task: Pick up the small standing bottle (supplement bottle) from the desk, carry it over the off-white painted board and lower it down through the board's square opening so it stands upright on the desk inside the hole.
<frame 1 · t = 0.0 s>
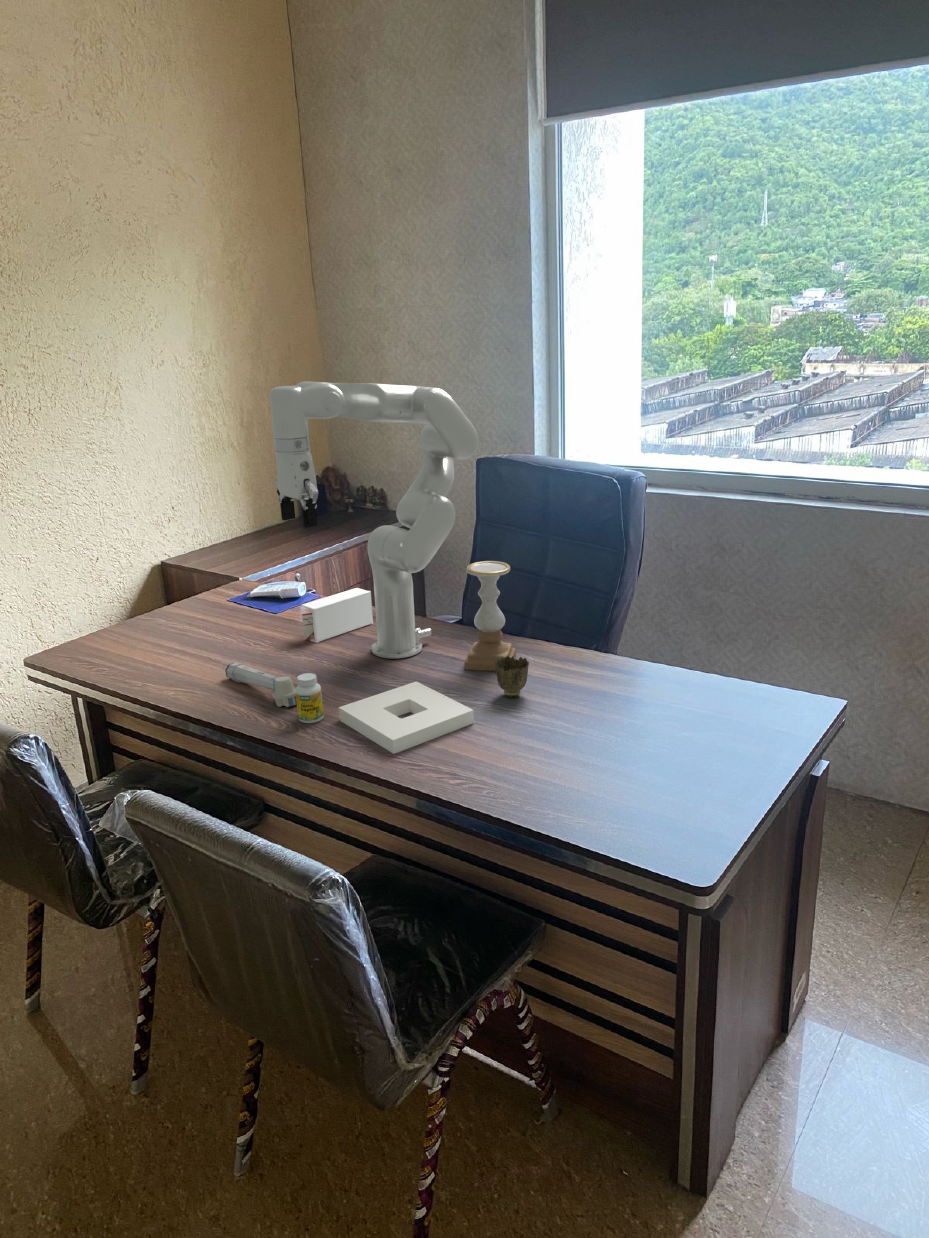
hand: (299, 522, 202), 37 cm above the table, tool pointing down, fingers open, 9 cm apart
hole board: (406, 721, 190), on the table
cup: (512, 696, 201), on the table
white box: (337, 632, 243), on the table
candle holder: (490, 662, 219), on the table
supplement bottle: (311, 719, 193), on the table
toothbrush head: (262, 693, 207), on the table
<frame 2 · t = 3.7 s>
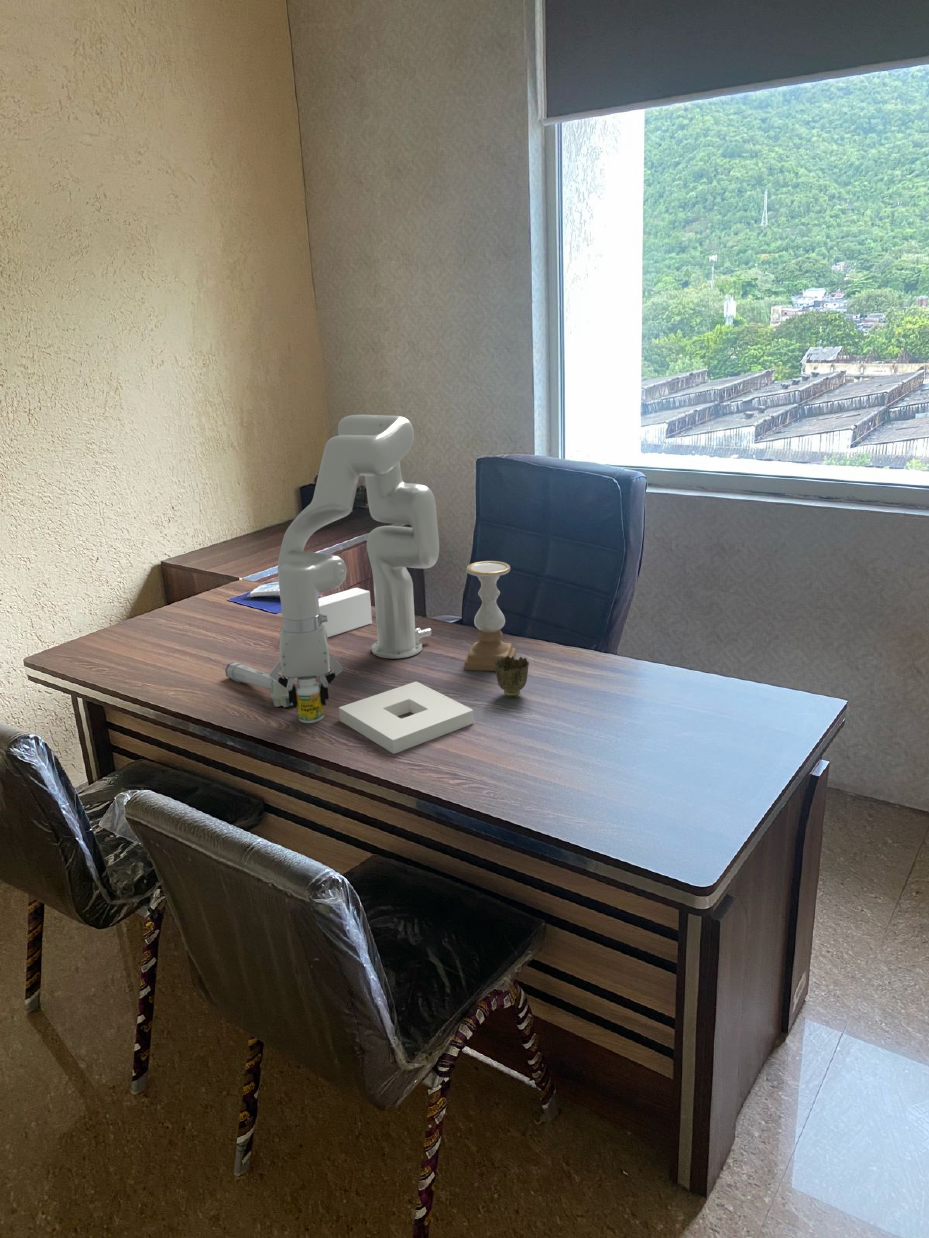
hand: (309, 703, 192), 4 cm above the table, tool pointing down, fingers closed on supplement bottle, 5 cm apart
supplement bottle: (311, 719, 193), on the table, touching gripper
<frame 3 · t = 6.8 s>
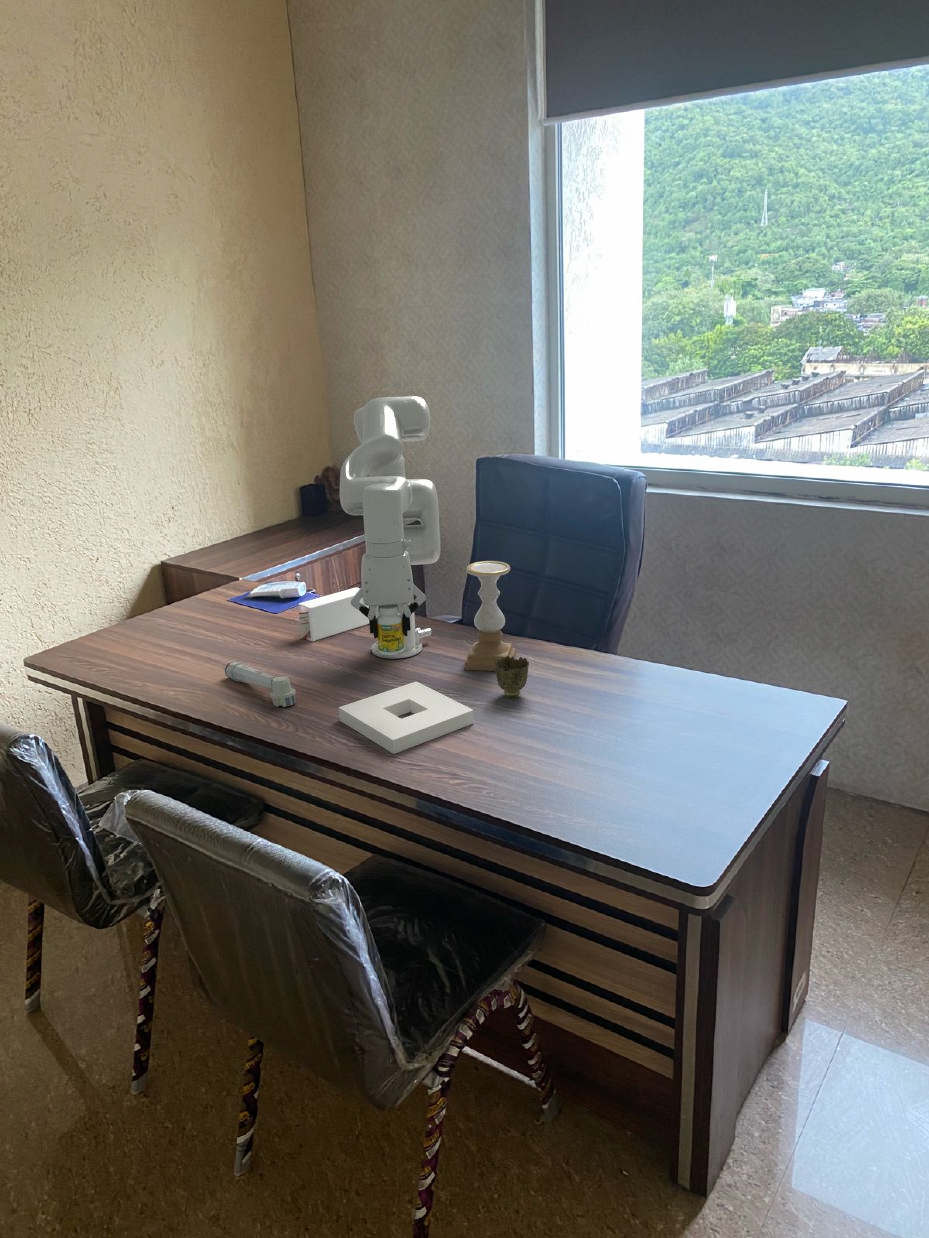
hand: (390, 634, 184), 19 cm above the table, tool pointing down, fingers closed on supplement bottle, 5 cm apart
supplement bottle: (391, 651, 185), point 16 cm above the table, touching gripper
when the fingers open (4 cm above the table, at t = 10.0 s): supplement bottle stays where it is, on the table.
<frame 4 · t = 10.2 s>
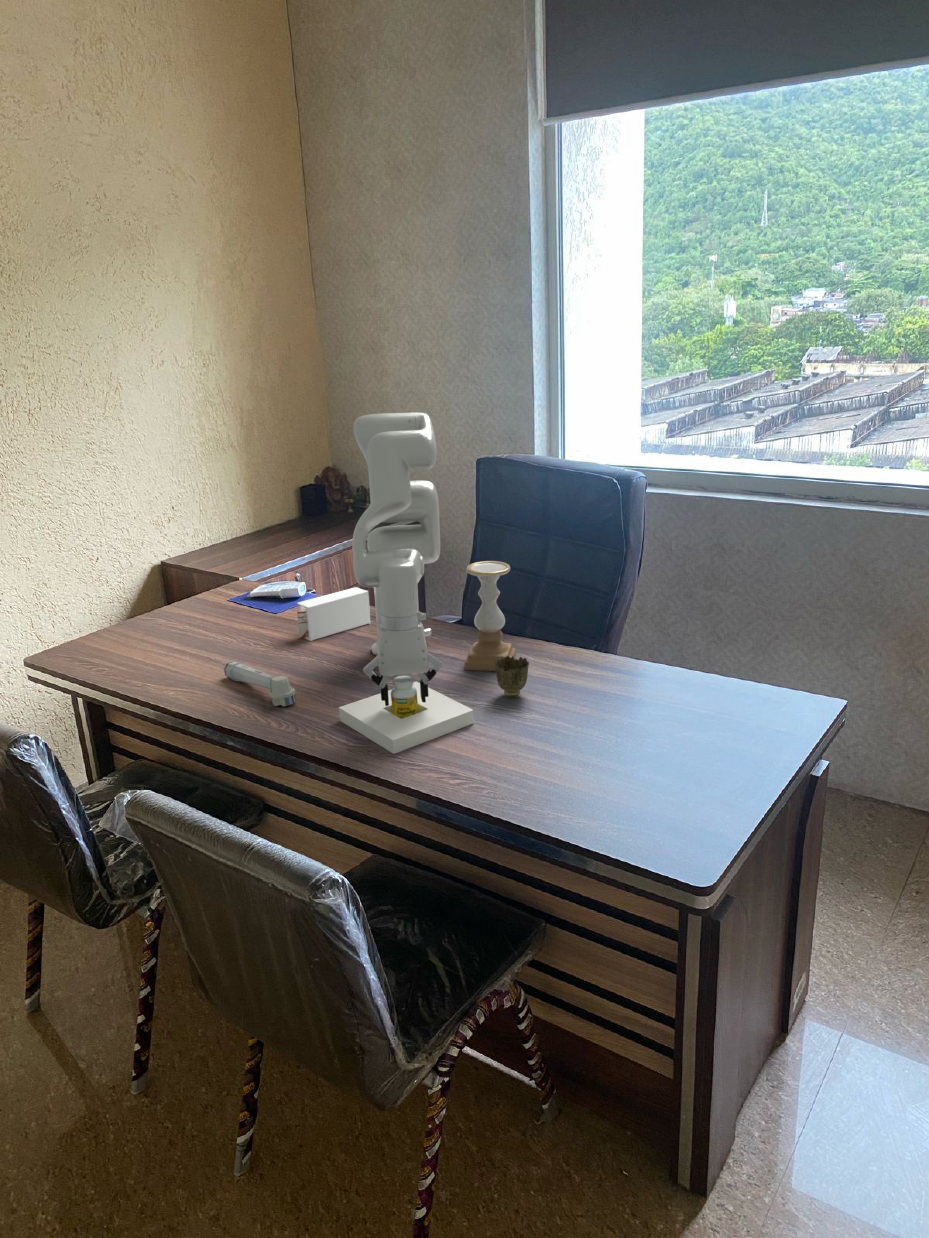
hand: (405, 700, 188), 5 cm above the table, tool pointing down, fingers open, 7 cm apart
supplement bottle: (405, 722, 190), on the table
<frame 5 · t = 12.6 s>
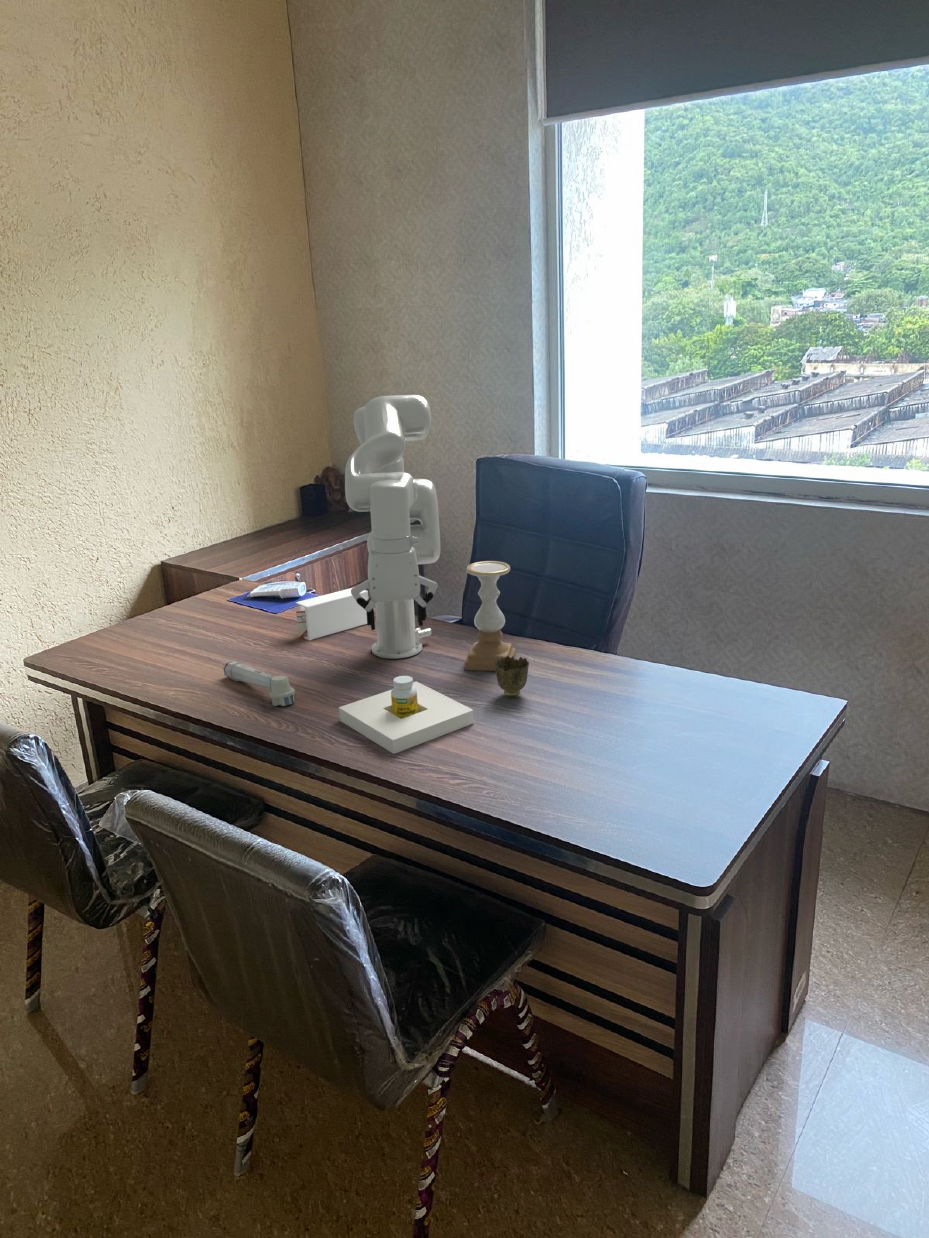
hand: (396, 625, 185), 21 cm above the table, tool pointing down, fingers open, 9 cm apart
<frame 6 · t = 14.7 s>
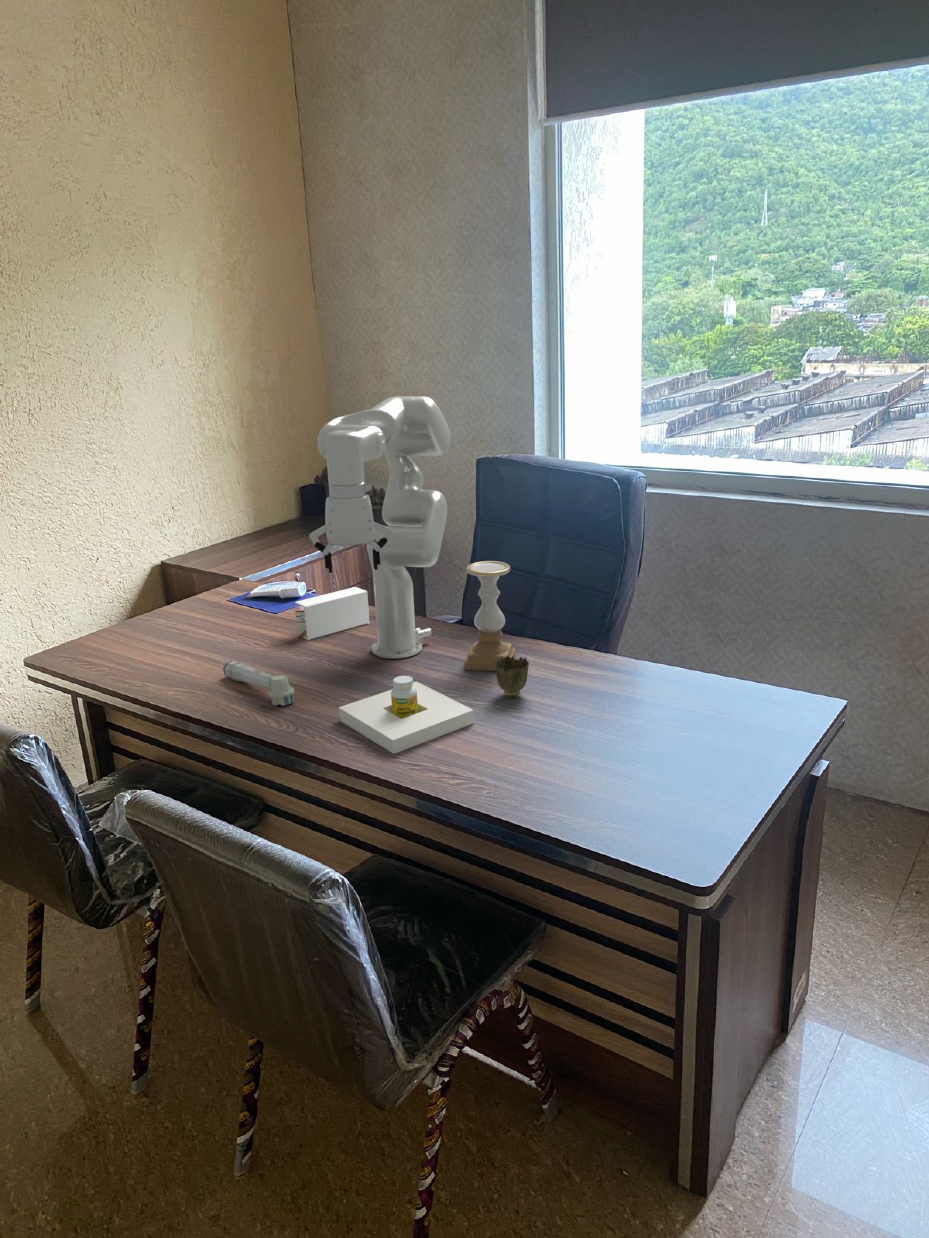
hand: (353, 569, 196), 28 cm above the table, tool pointing down, fingers open, 9 cm apart
at the end: supplement bottle 0.2 cm off-centre on the hole board, point 0.0 cm above the hole board's base; supplement bottle tilted 0°; the gripper is holding nothing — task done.
